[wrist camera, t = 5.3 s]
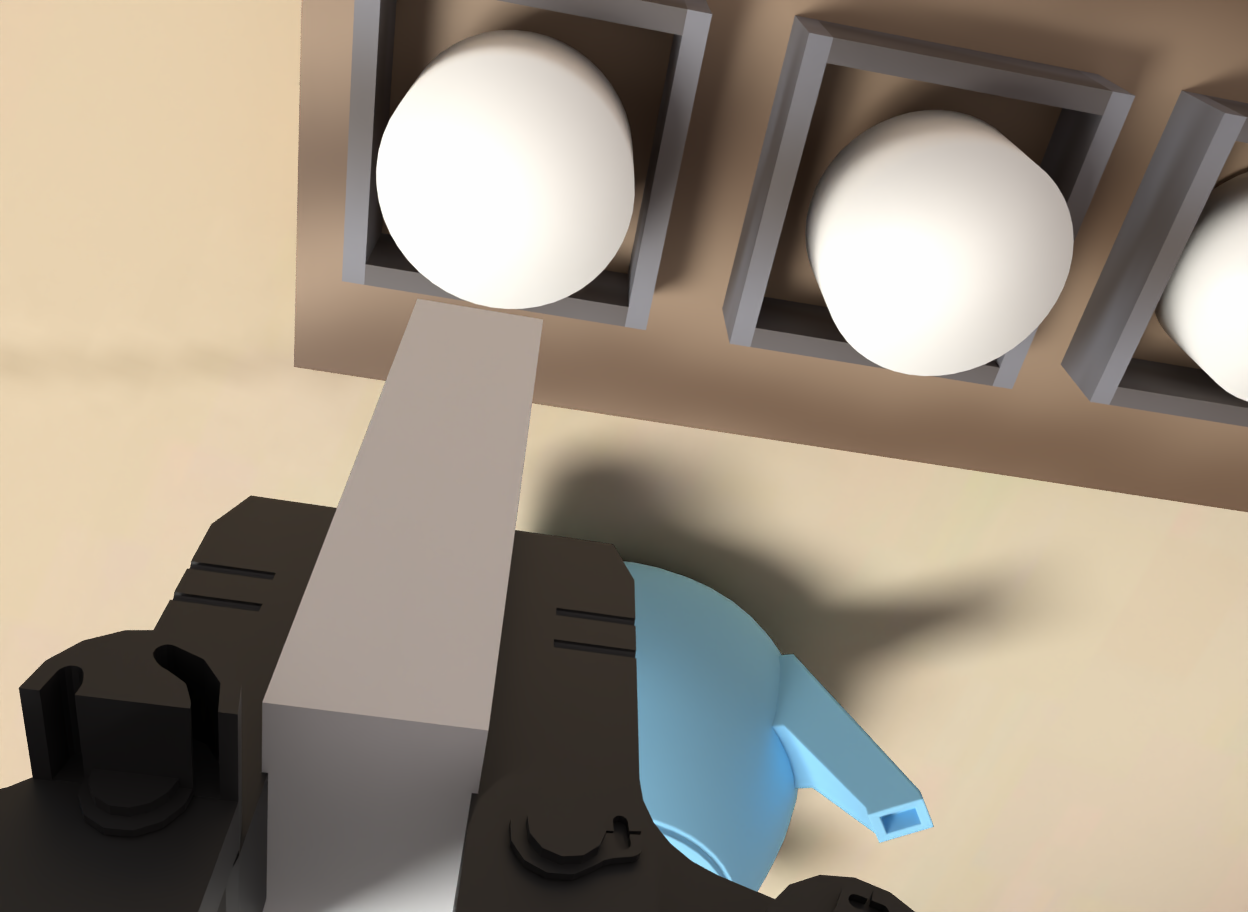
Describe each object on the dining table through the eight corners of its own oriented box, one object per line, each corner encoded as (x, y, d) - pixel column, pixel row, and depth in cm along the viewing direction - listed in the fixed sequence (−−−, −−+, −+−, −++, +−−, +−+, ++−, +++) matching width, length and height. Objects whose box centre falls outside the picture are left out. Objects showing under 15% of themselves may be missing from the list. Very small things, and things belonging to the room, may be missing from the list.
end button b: (610, 280, 24) (611, 327, 22) (390, 243, 24) (369, 287, 22) (652, 54, 22) (657, 82, 20) (407, 8, 21) (384, 31, 19)
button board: (1241, 463, 33) (1334, 562, 29) (321, 318, 30) (273, 404, 26) (1519, -23, 26) (1699, 14, 21) (341, -275, 23) (279, -290, 19)
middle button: (984, 341, 25) (1018, 392, 23) (780, 308, 25) (796, 356, 23) (1067, 132, 23) (1114, 167, 21) (841, 89, 22) (865, 121, 20)
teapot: (900, 611, 36) (999, 888, 27) (692, 872, 43) (714, 1162, 34) (478, 444, 32) (426, 699, 23) (327, 758, 40) (241, 1049, 30)
